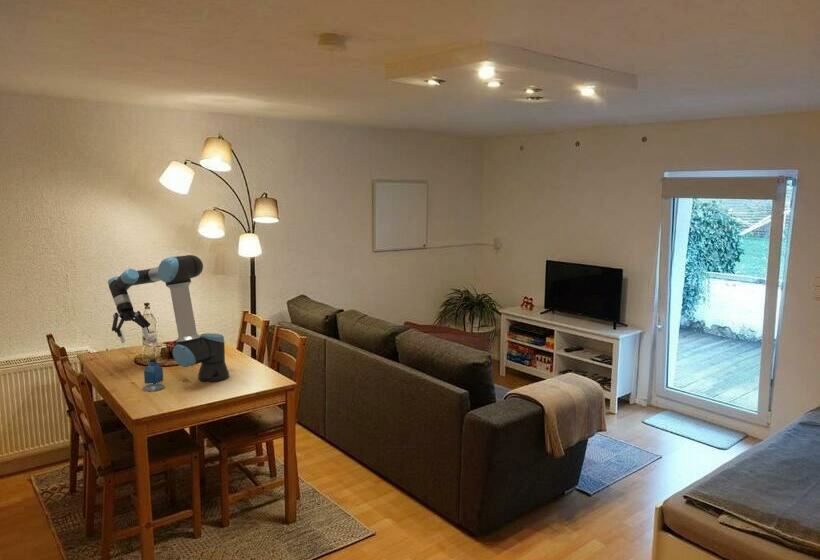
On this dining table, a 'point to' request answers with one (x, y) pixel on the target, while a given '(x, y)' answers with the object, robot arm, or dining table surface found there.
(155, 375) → the perfume bottle
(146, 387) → the coaster
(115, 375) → the dining table surface
